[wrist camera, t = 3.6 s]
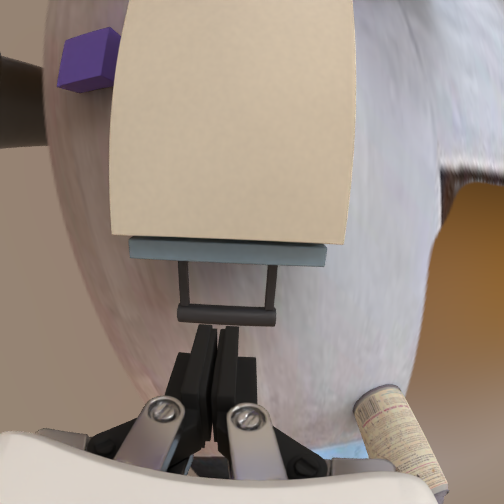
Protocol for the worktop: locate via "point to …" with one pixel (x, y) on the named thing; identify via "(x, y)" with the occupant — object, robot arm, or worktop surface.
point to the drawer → (227, 253)
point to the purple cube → (89, 61)
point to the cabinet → (234, 120)
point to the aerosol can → (398, 437)
